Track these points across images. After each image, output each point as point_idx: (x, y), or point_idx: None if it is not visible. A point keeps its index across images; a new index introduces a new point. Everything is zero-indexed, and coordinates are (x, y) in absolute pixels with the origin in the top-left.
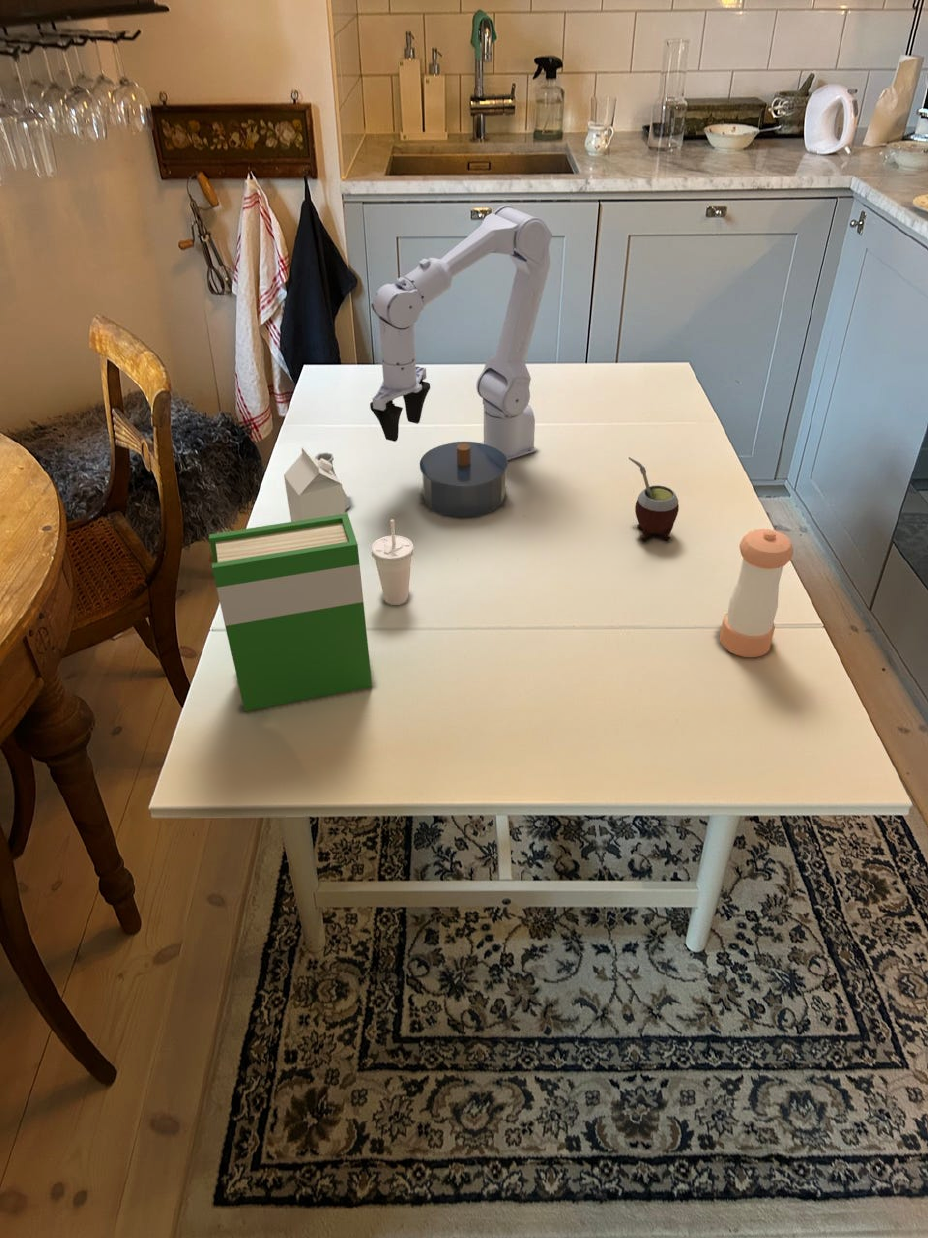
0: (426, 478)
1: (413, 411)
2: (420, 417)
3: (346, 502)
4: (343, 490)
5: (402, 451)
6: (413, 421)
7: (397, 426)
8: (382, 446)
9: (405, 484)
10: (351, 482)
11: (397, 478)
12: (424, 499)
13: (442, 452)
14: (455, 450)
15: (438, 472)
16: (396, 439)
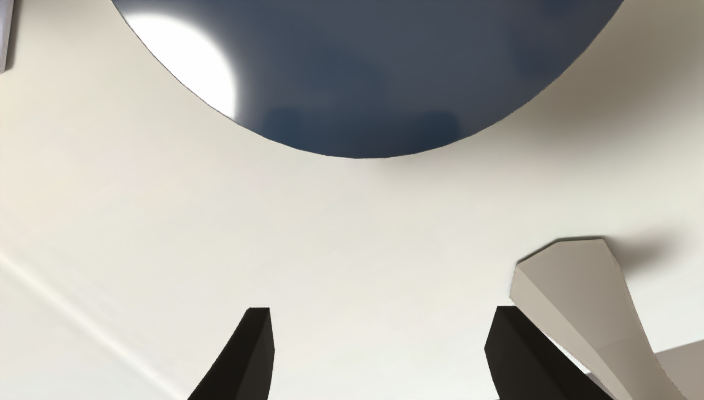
0: None
1: (255, 392)
2: (239, 328)
3: (574, 254)
4: (553, 288)
5: (212, 268)
6: (270, 333)
7: (577, 387)
8: (224, 318)
9: (380, 170)
10: (430, 293)
11: (358, 208)
12: None
13: (318, 80)
14: (254, 18)
15: None
16: (516, 312)
